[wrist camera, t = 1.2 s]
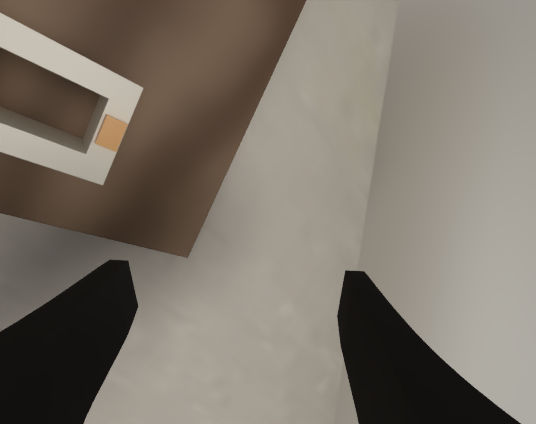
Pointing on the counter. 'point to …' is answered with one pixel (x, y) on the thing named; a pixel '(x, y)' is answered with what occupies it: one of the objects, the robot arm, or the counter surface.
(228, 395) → the counter surface
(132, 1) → the mounting plate
